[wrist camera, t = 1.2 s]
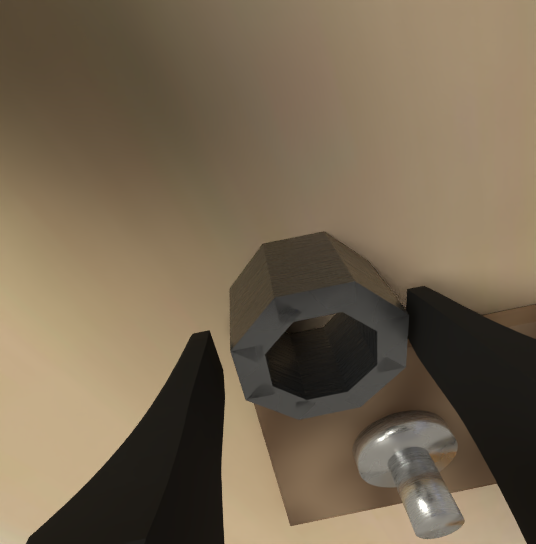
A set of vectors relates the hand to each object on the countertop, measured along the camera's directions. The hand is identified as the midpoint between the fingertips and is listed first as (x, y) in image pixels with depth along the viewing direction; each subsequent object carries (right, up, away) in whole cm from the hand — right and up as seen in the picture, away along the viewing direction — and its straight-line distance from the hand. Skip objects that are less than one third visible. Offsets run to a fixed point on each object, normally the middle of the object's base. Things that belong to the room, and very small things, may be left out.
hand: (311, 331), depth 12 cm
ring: (0, +1, +2) cm, 2 cm away
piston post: (+5, -7, +7) cm, 11 cm away
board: (+5, -7, +7) cm, 11 cm away
